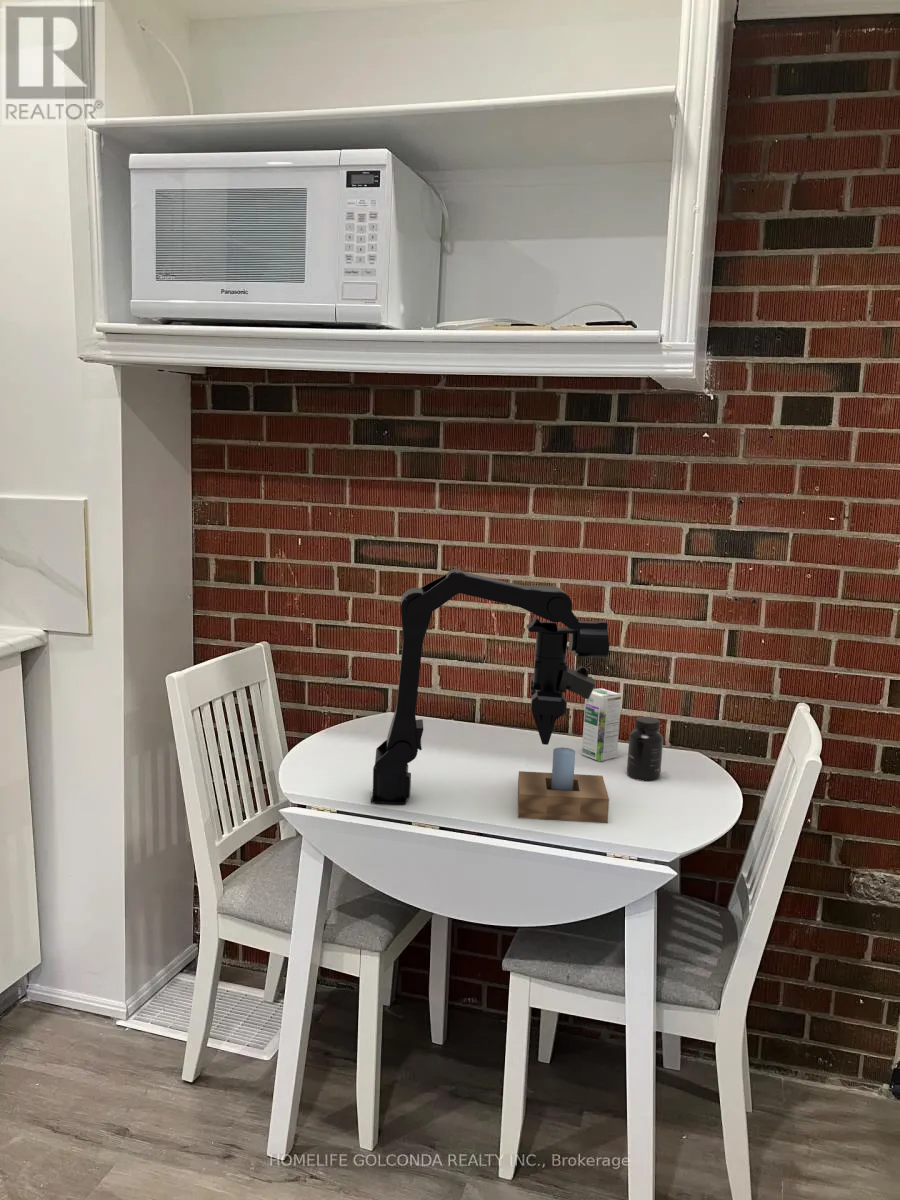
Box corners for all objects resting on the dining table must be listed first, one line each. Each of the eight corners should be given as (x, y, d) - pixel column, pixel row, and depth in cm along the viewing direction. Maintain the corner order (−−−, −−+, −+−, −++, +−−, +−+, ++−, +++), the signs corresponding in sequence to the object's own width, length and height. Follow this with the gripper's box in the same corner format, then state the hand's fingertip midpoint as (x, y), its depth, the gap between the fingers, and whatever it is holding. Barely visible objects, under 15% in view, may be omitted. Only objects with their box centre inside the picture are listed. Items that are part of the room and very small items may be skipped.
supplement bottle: (619, 774, 195) (623, 718, 193) (638, 767, 200) (642, 712, 198) (648, 784, 191) (652, 726, 189) (666, 776, 195) (671, 720, 193)
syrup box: (580, 754, 207) (584, 690, 205) (599, 750, 211) (603, 686, 208) (599, 762, 203) (603, 696, 200) (618, 757, 206) (622, 692, 204)
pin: (551, 806, 175) (553, 753, 173) (550, 797, 179) (552, 747, 177) (572, 807, 174) (575, 755, 173) (571, 799, 178) (574, 748, 177)
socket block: (518, 817, 171) (519, 794, 170) (517, 793, 183) (518, 771, 182) (607, 822, 170) (609, 798, 170) (601, 798, 182) (602, 775, 181)
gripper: (598, 670, 166) (591, 756, 168) (591, 647, 184) (584, 725, 186) (534, 665, 166) (528, 751, 169) (533, 643, 185) (528, 721, 187)
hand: (544, 736), depth 178 cm, fingers open, 9 cm apart
